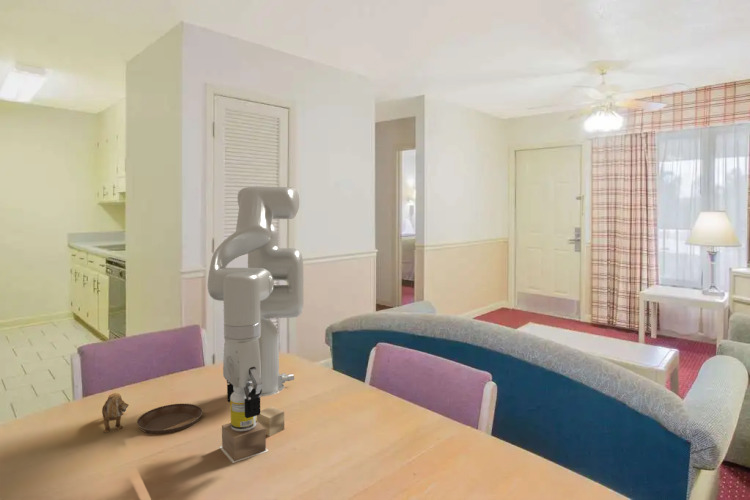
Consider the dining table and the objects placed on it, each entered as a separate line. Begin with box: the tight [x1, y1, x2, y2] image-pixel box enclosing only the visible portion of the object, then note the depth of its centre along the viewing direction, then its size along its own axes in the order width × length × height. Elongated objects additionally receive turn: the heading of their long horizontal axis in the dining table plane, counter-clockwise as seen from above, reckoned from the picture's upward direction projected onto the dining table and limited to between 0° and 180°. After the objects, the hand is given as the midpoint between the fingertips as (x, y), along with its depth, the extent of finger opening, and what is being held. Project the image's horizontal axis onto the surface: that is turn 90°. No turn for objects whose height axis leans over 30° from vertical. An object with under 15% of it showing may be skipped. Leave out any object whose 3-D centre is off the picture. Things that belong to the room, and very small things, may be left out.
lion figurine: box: [101, 392, 129, 433], centre depth 113 cm, size 15×5×9 cm, turn 35°
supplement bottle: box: [229, 382, 257, 431], centre depth 99 cm, size 5×5×10 cm
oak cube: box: [257, 405, 285, 437], centre depth 109 cm, size 4×4×4 cm
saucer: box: [136, 403, 203, 434], centre depth 113 cm, size 15×15×3 cm
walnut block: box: [221, 421, 267, 461], centre depth 100 cm, size 7×7×5 cm
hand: (243, 408), depth 99 cm, fingers open, 9 cm apart
